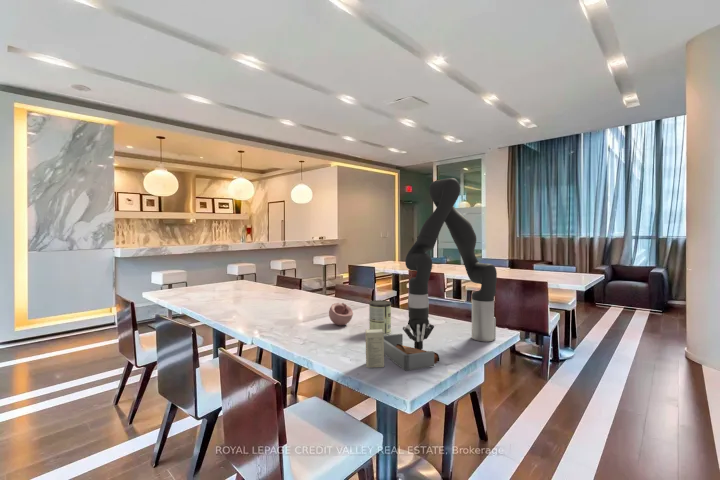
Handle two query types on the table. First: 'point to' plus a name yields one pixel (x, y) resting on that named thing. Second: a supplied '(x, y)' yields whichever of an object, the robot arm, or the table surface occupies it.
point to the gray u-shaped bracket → (406, 359)
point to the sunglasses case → (415, 351)
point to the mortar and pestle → (340, 313)
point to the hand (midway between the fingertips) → (418, 350)
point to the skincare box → (374, 348)
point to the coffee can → (380, 315)
